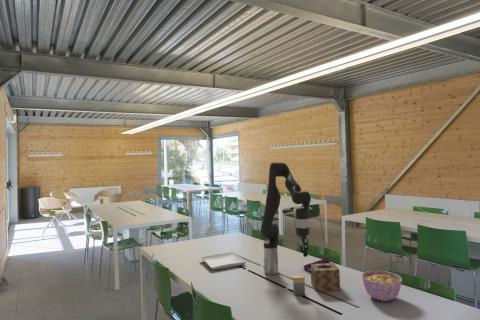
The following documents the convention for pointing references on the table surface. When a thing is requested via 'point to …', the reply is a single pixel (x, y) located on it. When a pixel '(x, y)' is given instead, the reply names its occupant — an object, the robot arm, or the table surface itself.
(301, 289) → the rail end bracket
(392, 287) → the bowl of food
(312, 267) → the patterned tissue box
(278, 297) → the table surface
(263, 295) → the table surface
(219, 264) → the square plate
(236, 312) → the table surface
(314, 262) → the mounting bracket
